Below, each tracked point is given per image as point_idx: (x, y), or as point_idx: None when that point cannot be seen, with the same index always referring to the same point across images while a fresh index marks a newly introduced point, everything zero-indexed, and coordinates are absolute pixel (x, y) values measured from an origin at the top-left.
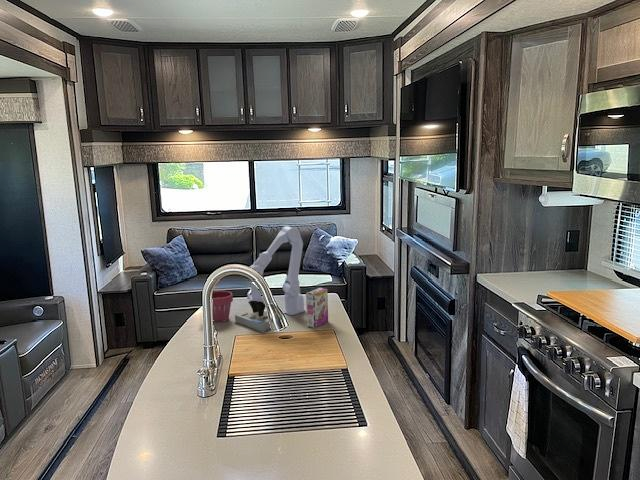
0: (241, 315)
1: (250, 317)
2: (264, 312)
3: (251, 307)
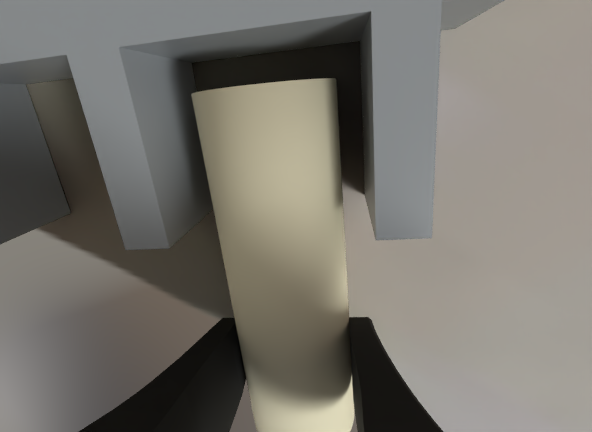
0: (370, 50)
1: (93, 127)
2: (256, 427)
3: (420, 411)
